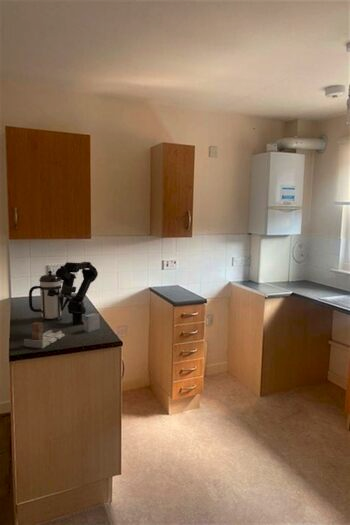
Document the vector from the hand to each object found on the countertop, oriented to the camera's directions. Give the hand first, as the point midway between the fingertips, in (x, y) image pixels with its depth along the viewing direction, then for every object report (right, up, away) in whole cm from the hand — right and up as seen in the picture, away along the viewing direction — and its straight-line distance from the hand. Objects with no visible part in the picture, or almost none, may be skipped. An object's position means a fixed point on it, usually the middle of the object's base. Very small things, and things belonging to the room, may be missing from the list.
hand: (61, 310), depth 206 cm
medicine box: (+15, -12, +6) cm, 20 cm away
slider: (-6, -13, -19) cm, 24 cm away
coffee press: (-16, -9, +27) cm, 32 cm away
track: (-5, -14, -13) cm, 19 cm away
